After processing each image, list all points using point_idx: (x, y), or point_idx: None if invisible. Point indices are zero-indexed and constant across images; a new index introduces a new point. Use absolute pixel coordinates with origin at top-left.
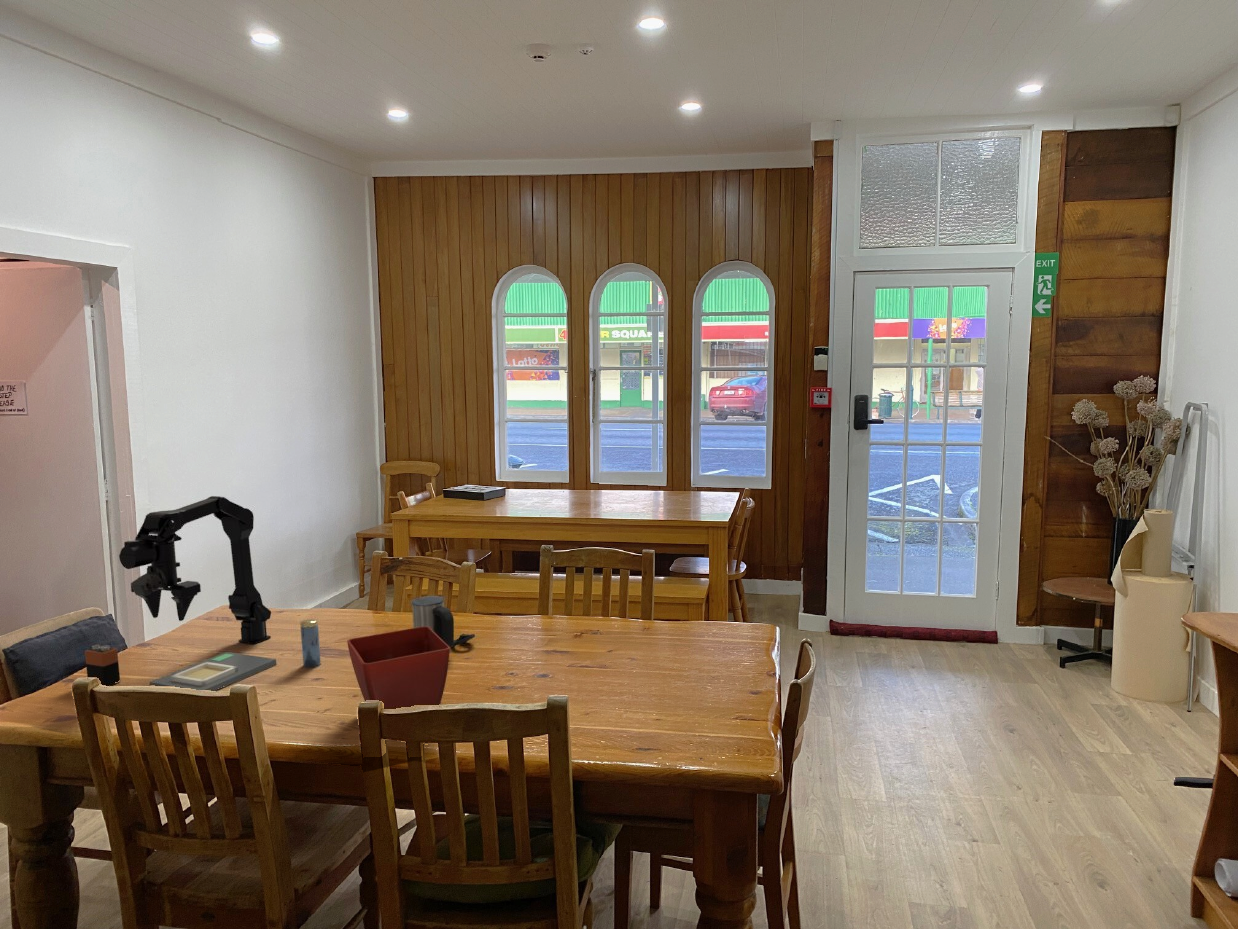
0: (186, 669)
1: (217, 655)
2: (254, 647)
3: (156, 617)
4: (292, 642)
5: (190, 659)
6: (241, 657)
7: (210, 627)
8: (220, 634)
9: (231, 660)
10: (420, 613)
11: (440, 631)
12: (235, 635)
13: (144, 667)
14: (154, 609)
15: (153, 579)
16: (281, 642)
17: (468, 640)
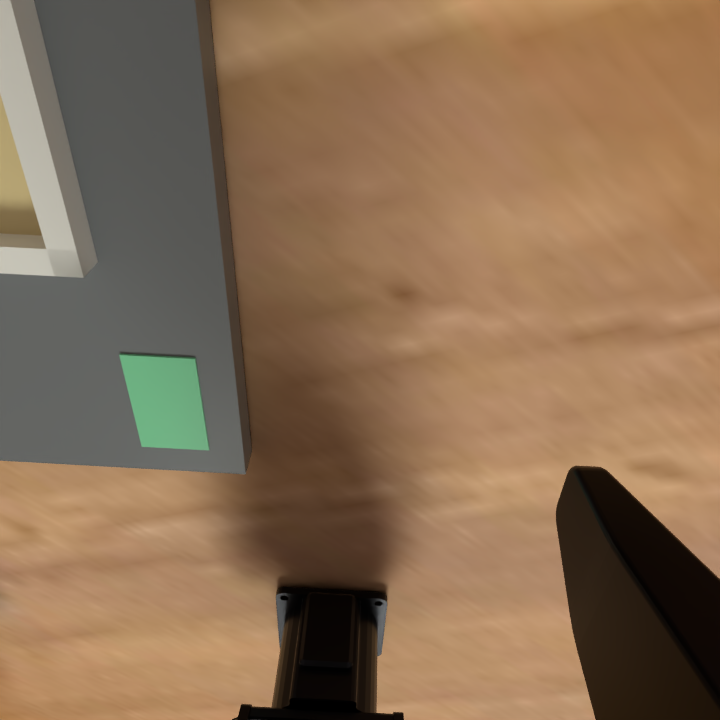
0: (169, 163)
1: (235, 423)
2: (246, 563)
3: (563, 495)
4: (142, 624)
5: (435, 381)
6: (62, 430)
7: None
8: (563, 637)
9: (63, 382)
10: None
11: None
12: (478, 639)
13: (659, 186)
14: (625, 641)
15: None
16: (188, 618)
17: None
